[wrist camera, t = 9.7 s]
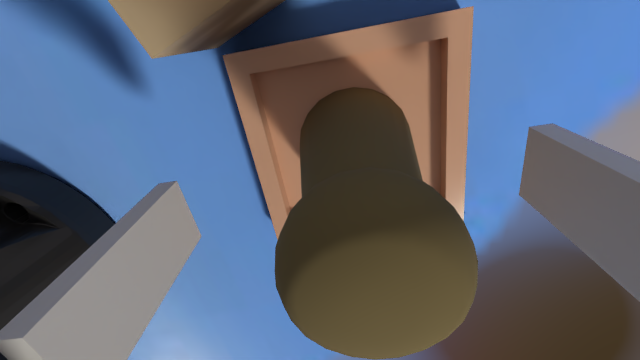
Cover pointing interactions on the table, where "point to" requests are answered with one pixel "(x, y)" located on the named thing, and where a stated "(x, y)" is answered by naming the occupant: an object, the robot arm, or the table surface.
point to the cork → (371, 236)
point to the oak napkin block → (188, 22)
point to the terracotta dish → (363, 72)
